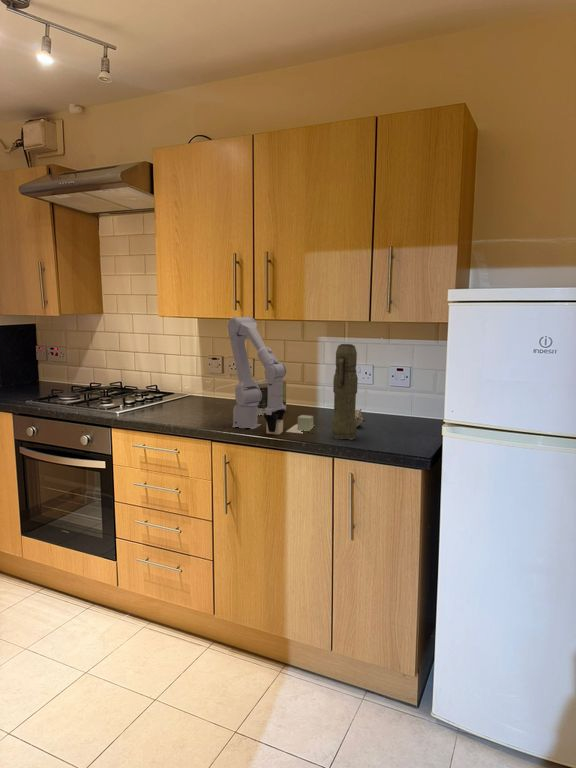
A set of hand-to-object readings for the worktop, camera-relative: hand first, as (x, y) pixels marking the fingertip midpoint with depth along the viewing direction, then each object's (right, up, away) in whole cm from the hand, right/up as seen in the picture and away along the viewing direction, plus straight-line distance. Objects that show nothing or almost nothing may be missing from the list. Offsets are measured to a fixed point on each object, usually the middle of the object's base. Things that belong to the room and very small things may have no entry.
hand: (274, 429), depth 206 cm
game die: (+32, 0, +11) cm, 34 cm away
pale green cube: (+12, 0, +6) cm, 13 cm away
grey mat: (+12, -1, +6) cm, 14 cm away
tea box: (-5, +4, +39) cm, 39 cm away
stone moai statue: (+26, -3, -6) cm, 27 cm away
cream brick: (0, -2, 0) cm, 2 cm away
